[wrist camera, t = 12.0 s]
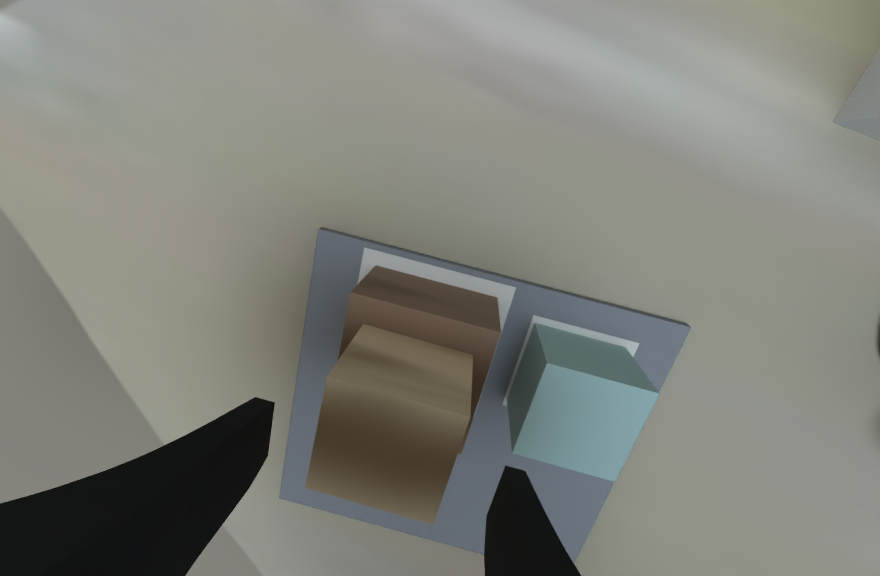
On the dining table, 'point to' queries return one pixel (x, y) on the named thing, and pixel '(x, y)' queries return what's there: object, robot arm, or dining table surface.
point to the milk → (864, 103)
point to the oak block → (392, 423)
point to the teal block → (577, 402)
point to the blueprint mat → (488, 442)
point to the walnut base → (428, 318)
